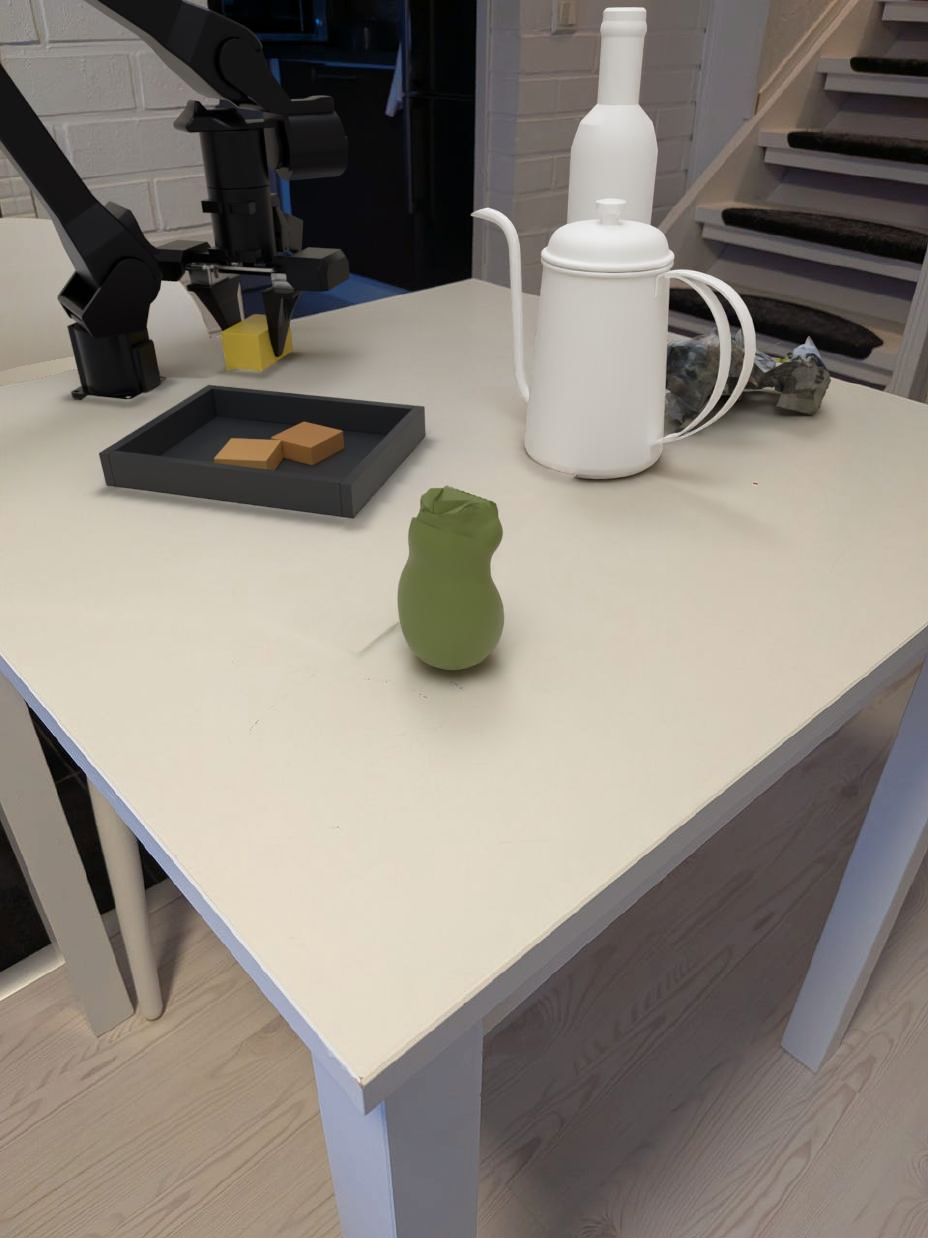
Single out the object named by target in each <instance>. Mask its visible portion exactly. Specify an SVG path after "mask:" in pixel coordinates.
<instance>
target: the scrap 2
mask: <svg viewBox="0 0 928 1238" xmlns="http://www.w3.org/2000/svg"><path fill="white" fill-rule="evenodd" d="M271 440H281V443H282V451H283V458H286V459H290V460H293V461H297V462H301V463H305V464H308V465H314V464H316V463H318V462H320V461H322V460H324V459H326V458H327V457H329V456H331V455H333V454H335V453H337V452H338V451H340V450H342V449H344V438H343V431H341V430H337V429H333V428H329V427H325V426H321V425H316V424H312V423H308V422H302V423H300V424H298V425H296V426H294V427H292V428H289V429H287V430H285V431H283V432H281V433H279V434H277V435H275V436H273V437H271Z"/></svg>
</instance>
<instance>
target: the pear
mask: <svg viewBox="0 0 928 1238" xmlns="http://www.w3.org/2000/svg"><path fill="white" fill-rule="evenodd" d="M419 505H420V506H419V507H420V508H419V511H418V514H417V516H416V517H415V516H413V517H411V520H410V524H409V528H408V533H407V545H408V556H407V560H406V561H405V565H404V567H403V569H402V571H401V574H400V577H399V581H398V585H397V596H396V597H397V600H396V601H397V614H398V619H399V625H400V628H401V632H402V634H403V637H404V640H405V642H406V644H407V646H408V647H409V649H410V650H411V651H412V652H413V654H415V656H416V657H417V658H419V659H420V660H421V661H422V662H424V663H425V664H426V665H428V666H431V667H433V668H436V669H440V670H444V671H461V670H465V669H469V668H472V667H475V666H476V665H479V664H480V663H481V662H483V661H484V660H486V658H488V657H489V656H490V655H491V654H492V652H494V650H495V649H496V647H497V646H498V644H499V641H500V639H501V637H502V634H503V631H504V625H505V610H504V604H503V599H502V597H501V594H500V592H499V590H498V588H497V586H496V584H495V582H494V580H493V577H492V569H491V567H492V565H491V564H492V558H493V556H494V554H495V553H496V551H497V550H498V548H499V546H500V544H501V542H502V540H503V537H504V536H503V535H504V529H503V525H502V522H501V520H500V518H499V508H498V505H497V503H496V502H494V501H493V500H489V499H487V498H483V497H481V496H477V495H475V494H471V493H470V492H465V491H464V490H460V489H458V488H454V487H453V486H449V485H445V486H443V487H430V488H429V489H428V490H427V491H426V492H425V493H423V494H421V496H420V500H419Z"/></svg>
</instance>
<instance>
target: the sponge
mask: <svg viewBox="0 0 928 1238" xmlns="http://www.w3.org/2000/svg"><path fill="white" fill-rule="evenodd" d="M220 338H221V344H222V351H223V357H224V363H225V371H226V372H230V371H231V370H234V369H237V370H239V369H240V370H249V371H260V372H263V371H264V370H266V369H267V368H269V367H270V366H272V365H274V364H275V363H276V362H278V361H279V360H281V359H282V358H284V357H286V356H287V355H288V354H291V353H292V352H294V349H293V348H294V347H293V338H292V329H291V324H290V325H289V329H288V334H287V338H286V342H285V347H284V351H283V354H282V355H281V356H280V357H275V355H274V352H273V349H272V345H271V342H270V336H269V331H268V325H267V320H266V314H258V313H254V314H252V315H250V316H248V317H246V318H244V319H243V320H241V322H239V323H237V324H235V325H234V326H232V327H230V328H228V329H226V330H224V331H220Z"/></svg>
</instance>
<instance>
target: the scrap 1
mask: <svg viewBox="0 0 928 1238" xmlns="http://www.w3.org/2000/svg"><path fill="white" fill-rule="evenodd" d="M282 459H283V451H282V443H281V440H261V439H237V438H231V439H230V440H229V442H228V443H227V444H226V445H225V446H224V447H223V449H222V450H221V451H220V452H219V453H218V454H217V455H216V457H215V458H214V463H220V464H228V465H236V466H244V467H252V468H260V469H269V470H275V469H276V468H277V466H278V465H279V464H280V462H281V461H282Z"/></svg>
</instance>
